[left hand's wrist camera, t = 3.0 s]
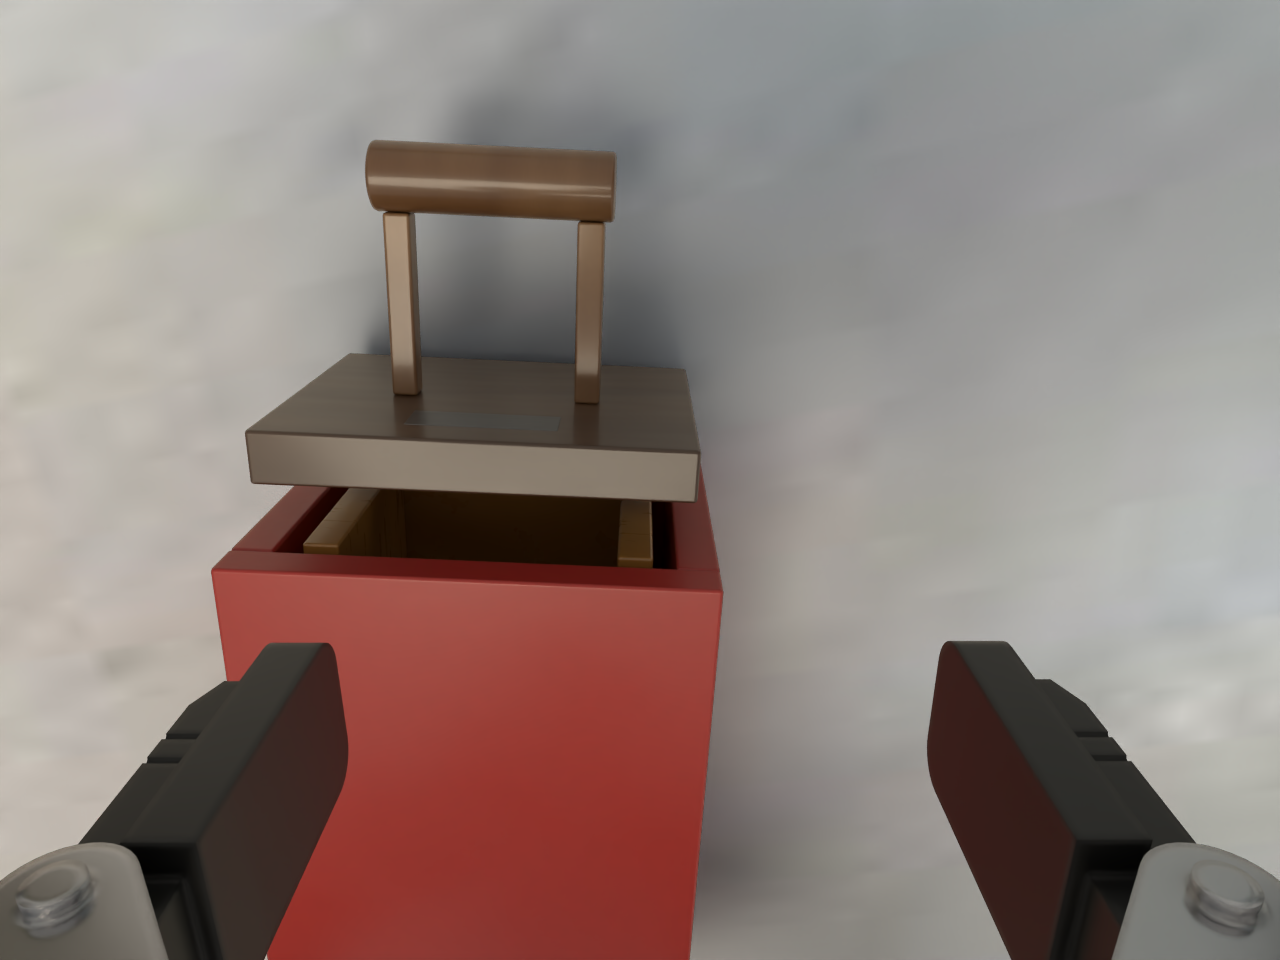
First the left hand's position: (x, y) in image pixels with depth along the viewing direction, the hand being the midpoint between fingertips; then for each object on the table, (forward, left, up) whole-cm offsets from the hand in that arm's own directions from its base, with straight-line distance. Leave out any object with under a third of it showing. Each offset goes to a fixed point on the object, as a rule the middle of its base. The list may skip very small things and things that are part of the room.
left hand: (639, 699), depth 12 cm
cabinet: (+12, -1, -15) cm, 20 cm away
